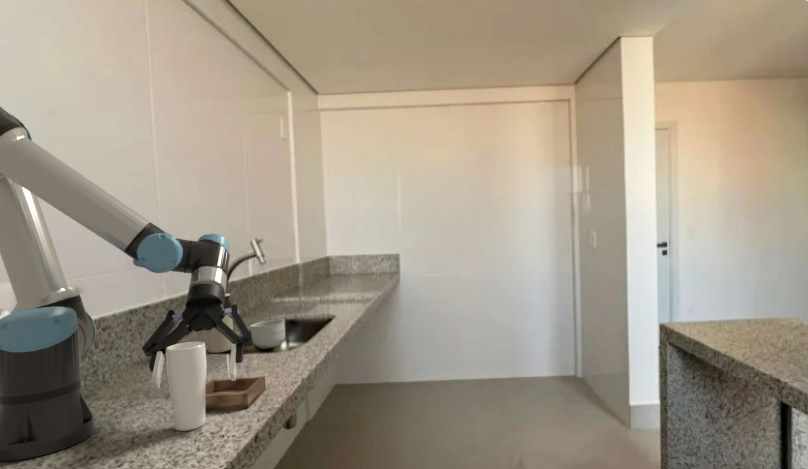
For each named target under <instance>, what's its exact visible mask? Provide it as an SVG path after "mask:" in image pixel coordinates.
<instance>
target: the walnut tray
mask: <svg viewBox="0 0 808 469" xmlns="http://www.w3.org/2000/svg"><path fill="white" fill-rule="evenodd" d="M266 386H267V385H266V376H264V375H263V376H251V377H250V376H249V377H236V381H231V378H219V379H211V380H210V381H209V382H206V410H205V411H206V412H213V411H214V412H215V411H216V412H217V411H227V410H228V411H230V410H243V409H244V410H246V409H249V408H250V407H251V406H252V405H253V404H254V403H255V402H256V401H257V400H258V399H259V398H260V396H262V394H263V393H264V392H265V391H266V390H267V388H266Z"/></svg>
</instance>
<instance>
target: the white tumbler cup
mask: <svg viewBox="0 0 808 469" xmlns="http://www.w3.org/2000/svg"><path fill="white" fill-rule="evenodd" d="M207 362H208V361H207V350H206V343H205V342H203V341H189V342H181V343H176V344H175V345H172V346H169V347H167V348H166V353H165V365H166V374H167V381H168V389H169V393H170V402H171V407H172V408H171V409H172V414H173V424H174V425H173V426H174V428H175V430H176V431H180V432H188V431H192V430H193V431H194V430H196V429H199V428H200V427H202V426H204V425H205V424H206V421H207V416H206V415H207V414H206V413H207V411H205V410H206V384H207V367H208V366H207Z"/></svg>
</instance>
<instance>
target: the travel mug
mask: <svg viewBox="0 0 808 469" xmlns="http://www.w3.org/2000/svg"><path fill="white" fill-rule="evenodd" d="M230 296H231V293H225V302H224V309H227V308H231V306H232V305H233V304H232V302H231V301H230ZM222 321H223V322H224V323H225V324H226V325H227V326H228V327H229V328H230V329H231V330H233V331H234V324H233V323H234V320H233V319H231V318H229V316H228V315H225V317H224V318H223V319H222ZM206 341H207V342H206V343H207V352H208V353H211V354H219V353H225V352H231V348H232V343H231V342H230V341H229V340H228V339H227V338H226V337H225V336H224V335H223V334H222V333H221V332H218V331H217V330H216V329H215V328H213V329H211V330H208V331H206Z"/></svg>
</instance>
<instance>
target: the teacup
mask: <svg viewBox="0 0 808 469" xmlns="http://www.w3.org/2000/svg"><path fill="white" fill-rule="evenodd" d="M249 328H250V334H251V336H252V339H253V346H256V347H257V348H259V349H263V350H265V349H271V348H272V349H273V348H275V347H277V346H280V345H281V344H282V343H283V342H284V341H285V338H286V329H285V328H286V327H285V320H284V319H270V320H262V321H259V322H256V323H252V324H251V325H249Z"/></svg>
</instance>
